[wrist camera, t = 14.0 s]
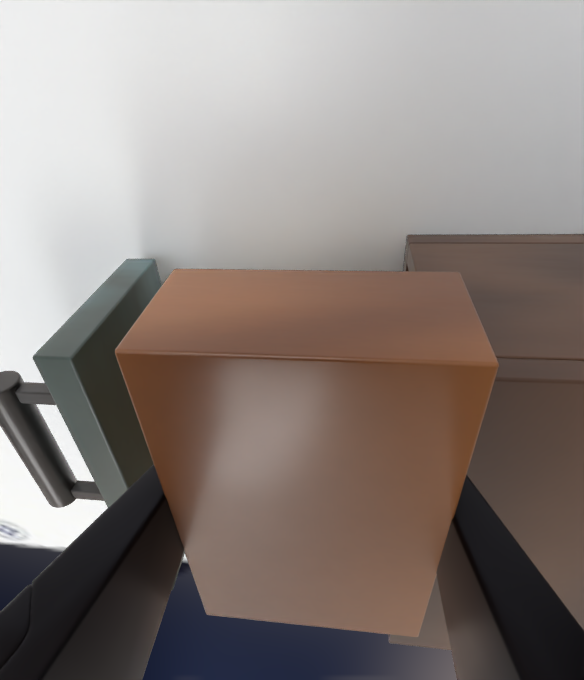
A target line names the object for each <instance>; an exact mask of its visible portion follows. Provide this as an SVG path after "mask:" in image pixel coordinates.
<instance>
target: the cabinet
mask: <svg viewBox="0 0 584 680" xmlns="http://www.w3.org/2000/svg"><path fill="white" fill-rule="evenodd" d="M403 271H408V272H459V273H460V274H461V276H462V279H463V281H464V283H465V286H466V288H467V290H468V293H469V295H470V297H471V300H472V302H473V304H474V307H475V309H476V311H477V314H478V316H479V319H480V321H481V323H482V326H483V328H484V330H485V333H486V335H487V337H488V340H489V342H490V344H491V347H492V349H493V351H494V354H495V356H496V358H497V361H498V363H499V367H498V371H497V374H496V377H495V381H494V384H493V387H492V391H491V394H490V398H489V401H488V404H487V408H486V411H485V414H484V418H483V421H482V424H481V428H480V431H479V435H478V438H477V441H476V445H475V448H474V451H473V455H472V458H471V461H470V465H469V468H468V471H467V476H468V477H469V478H470V480H471V481H472V482H473V484H474V485H475V486H476V488H477V489H478V490H479V492H480V493H481V494H482V496H483V497H484V498H485V500H486V501H487V502H488V504H489V505H490V506H491V508H492V509H493V510H494V512H495V513H496V514H497V516H498V517H499V518H500V519H501V521H502V522H503V523H504V525H505V526H506V527H507V529H508V530H509V531H510V533H511V534H512V535H513V537H514V538H515V539H516V541H517V542H518V543H519V545H520V546H521V547H522V549H523V550H524V551H525V553H526V554H527V555H528V557H529V558H530V559H531V561H532V562H533V563H534V565H535V566H536V567H537V569H538V570H539V571H540V573H541V574H542V575H543V577H544V578H545V579H546V581H547V582H548V583H549V585H550V586H551V587H552V589H553V590H554V591H555V593H556V594H557V595H558V597H559V598H560V599H561V601H562V602H563V603H564V605H565V606H566V607H567V609H568V610H569V611H570V613H571V614H572V615H573V617H574V618H575V619H576V621H577V622H578V623H579V625H580V626H581V627H582V629H583V630H584V234H566V235H407V239H406V248H405V257H404V267H403ZM388 635H389V642H390V643H393V644H402V645H410V646H419V647H428V648H437V649H446V650H451V647H450V641H449V636H448V631H447V626H446V621H445V616H444V611H443V606H442V601H441V596H440V591H439V586H438V580H437V576H436V579H435V582H434V586H433V589H432V592H431V596H430V599H429V603H428V606H427V609H426V613H425V616H424V619H423V623H422V626H421V629H420V633H419V636H418V637H410V636H400V635H391V634H388Z"/></svg>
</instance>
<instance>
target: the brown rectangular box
mask: <svg viewBox="0 0 584 680" xmlns="http://www.w3.org/2000/svg"><path fill="white" fill-rule="evenodd" d="M115 355H116V358H117V361H118V364H119V367H120V369H121V372H122V375H123V378H124V381H125V384H126V387H127V389H128V392H129V395H130V398H131V401H132V404H133V406H134V409H135V412H136V415H137V418H138V421H139V423H140V426H141V429H142V432H143V435H144V438H145V441H146V443H147V446H148V449H149V452H150V455H151V458H152V460H153V463H154V466H155V469H156V472H157V475H158V478H159V480H160V483H161V486H162V489H163V492H164V495H165V497H166V499H167V501H168V504H169V507H170V510H171V513H172V516H173V519H174V521H175V524H176V527H177V530H178V533H179V536H180V539H181V541H182V544H183V547H184V551H185V554H186V557H187V560H188V563H189V566H190V569H191V571H192V574H193V577H194V580H195V583H196V585H197V588H198V591H199V594H200V597H201V600H202V603H203V606H204V608H205V611H206V614H208V615H215V616H225V617H235V618H243V619H252V620H261V621H271V622H280V623H289V624H298V625H308V626H318V627H326V628H336V629H345V630H354V631H364V632H373V633H382V634H391V635H400V636H410V637H418V636H419V633H420V629H421V626H422V623H423V619H424V616H425V613H426V609H427V606H428V603H429V599H430V596H431V592H432V589H433V586H434V582H435V579H436V576H437V574H436V571H437V568H438V565H439V561H440V558H441V555H442V551H443V548H444V544H445V541H446V538H447V534H448V531H449V527H450V524H451V521H452V519H453V518H454V515H455V512H456V508H457V505H458V502H459V498H460V495H461V492H462V488H463V485H464V482H465V478H466V475H467V471H468V468H469V465H470V461H471V458H472V455H473V451H474V448H475V445H476V441H477V438H478V435H479V431H480V428H481V424H482V421H483V418H484V414H485V411H486V408H487V404H488V401H489V398H490V394H491V391H492V387H493V384H494V381H495V377H496V374H497V371H498V367H499V363H498V361H497V358H496V356H495V354H494V351H493V349H492V347H491V344H490V342H489V340H488V337H487V335H486V333H485V330H484V328H483V326H482V323H481V321H480V319H479V316H478V314H477V311H476V309H475V307H474V304H473V302H472V300H471V297H470V295H469V293H468V290H467V288H466V286H465V283H464V281H463V279H462V276H461V274H460V273H459V272H408V271H325V270H243V269H174V270H173V271H172V272H171V274H170V275H169V277H168V278H167V279H166V281H165V282H164V283H163V285H162V286H161V287H160V289H159V290H158V292H157V293H156V294H155V296H154V297H153V298H152V300H151V301H150V303H149V304H148V305H147V307H146V308H145V309H144V311H143V312H142V313H141V315H140V316H139V318H138V319H137V320H136V322H135V323H134V324H133V326H132V327H131V329H130V330H129V331H128V333H127V334H126V335H125V337H124V338H123V339H122V341H121V342H120V344H119V345H118V346H117V348H116V349H115Z"/></svg>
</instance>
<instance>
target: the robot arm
mask: <svg viewBox="0 0 584 680" xmlns="http://www.w3.org/2000/svg"><path fill="white" fill-rule="evenodd" d="M183 552H184V547H183V544H182V541H181V539H180V536H179V533H178V530H177V527H176V524H175V521H174V519H173V516H172V513H171V510H170V507H169V504H168V501H167V499H166V497H165V495H164V492H163V489H162V486H161V483H160V480H159V478H158V475H157V472H156V469H155V466H154V464H153V465H152V466H151V467H150V468H149V469H148V470H147V471H146V472H145V473H144V474H143V475H142V476H141V477H140V478H139V479H138V480H137V481H136V482H135V483H133V484H132V485H131V486H130V487H129V488H128V489H127V490H126V491H125V492H124V493H123V494H122V495H121V496H120V497H119V498H118V499H117V500H116V501H115V502H114V503H113V504H112V505H111V506H110V507H109V508H108V509H107V510H106V511H105V512H103V513H102V514H101V515H100V516H99V517H98V518H97V519H96V520H95V521H94V522H93V523H92V524H91V525H90V526H89V527H88V528H87V529H86V530H85V531H84V532H83V533H82V534H81V535H80V536H79V537H78V538H77V539H76V540H75V541H74V542H72V543H71V544H70V545H69V546H68V547H67V548H66V549H65V550H64V551H63V552H62V553H61V554H60V555H59V556H58V557H57V558H56V559H55V560H54V561H53V562H52V563H51V564H50V565H49V566H48V567H47V568H46V569H45V570H44V571H43V572H42V573H40V574H39V575H38V576H37V577H36V579H34V580H33V582H32V585H28V586H27V587H26V588H25V589H24V590H23V591H22V592H21V593H20V594H19V595H18V596H17V597H15V598H14V599H13V600H12V601H11V602H10V603H9V604H8V605H7V606H6V607H5V608H4V609H3V610H2V611H1V612H0V680H142V678H143V675H144V672H145V669H146V665H147V663H148V660H149V656H150V653H151V650H152V647H153V644H154V641H155V638H156V635H157V632H158V629H159V626H160V623H161V620H162V617H163V614H164V611H165V607H166V605H167V601H168V599H169V595H170V592H171V589H172V586H173V583H174V580H175V577H176V574H177V571H178V568H179V565H180V562H181V559H182V555H183ZM436 574H437V580H438V586H439V591H440V596H441V601H442V606H443V611H444V616H445V621H446V626H447V631H448V636H449V641H450V647H451V652H452V657H453V662H454V667H455V672H456V677H457V680H584V630H583V629H582V627H581V626H580V625H579V623H578V622H577V621H576V619H575V618H574V617H573V615H572V614H571V613H570V611H569V610H568V609H567V607H566V606H565V605H564V603H563V602H562V601H561V599H560V598H559V597H558V595H557V594H556V593H555V591H554V590H553V589H552V587H551V586H550V585H549V583H548V582H547V581H546V579H545V578H544V577H543V575H542V574H541V573H540V571H539V570H538V569H537V567H536V566H535V565H534V563H533V562H532V561H531V559H530V558H529V557H528V555H527V554H526V553H525V551H524V550H523V549H522V547H521V546H520V545H519V543H518V542H517V541H516V539H515V538H514V537H513V535H512V534H511V533H510V531H509V530H508V529H507V527H506V526H505V525H504V523H503V522H502V521H501V519H500V518H499V517H498V516H497V514H496V513H495V512H494V510H493V509H492V508H491V506H490V505H489V504H488V502H487V501H486V500H485V498H484V497H483V496H482V494H481V493H480V492H479V490H478V489H477V488H476V486H475V485H474V484H473V482H472V481H471V480H470V478H469V477H468V476H467V475H466V478H465V482H464V485H463V488H462V492H461V495H460V498H459V502H458V505H457V508H456V512H455V515H454V518H453V519H452V521H451V524H450V527H449V531H448V534H447V538H446V541H445V544H444V548H443V551H442V555H441V558H440V561H439V565H438V568H437V571H436Z"/></svg>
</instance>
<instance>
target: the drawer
mask: <svg viewBox="0 0 584 680" xmlns="http://www.w3.org/2000/svg"><path fill="white" fill-rule="evenodd" d="M161 286H162V285H161V281H160V277H159V273H158V269H157V265H156V261H155V259H126V260H125V261H124V262H123V264H122V265H121V266H120V267H119V268H118V269H117V270H116V271H115V272H114V273H113V274H112V275H111V276H110V277H109V278H108V279H107V280H106V281H105V282H104V283H103V284H102V285H101V286H100V287H99V288H98V289H97V290H96V291H95V292H94V294H93V295H92V296H91V297H90V298H89V299H88V300H87V301H86V302H85V303H84V304H83V305H82V306H81V307H80V308H79V309H78V310H77V311H76V312H75V313H74V314H73V315H72V316H71V317H70V318H69V319H68V320H67V321H66V322H65V324H64V325H63V326H62V327H61V328H60V329H59V330H58V331H57V332H56V333H55V334H54V335H53V336H52V337H51V338H50V339H49V340H48V341H47V342H46V343H45V344H44V345H43V346H42V347H41V348H40V349H39V350H38V351H37V352H36V354H35V355H34V356H33V360H34V362H35V364H36V366H37V368H38V370H39V372H40V373H41V375H42V377H43V379H44V381H45V383H29V382H25V383H24V381H23V379H22V378H21V376H20V374H19V373H17V372H15V371H4V372H0V426H1V428H2V429H3V431H4V432H5V434H6V436H7V437H8V439H9V440H10V442H11V443H12V445H13V447H14V448H15V450H16V451H17V453H18V455H19V456H20V458H21V459H22V461H23V462H24V464H25V466H26V467H27V469H28V470H29V472H30V474H31V475H32V477H33V478H34V480H35V482H36V483H37V485H38V486H39V488H40V489H41V491H42V493H43V494H44V496H45V497H46V499H47V501H48V502H49V504H50V505H51V506H53V507H58V508H59V507H64V506H67V505H69V504H71V503H72V502H73V501H74V500H75V499H76V498H77V499H89V500H102V501H105V503H106V505H107V507H108V508H109V507H110V506H111V505H112V504H113V503H114V502H115V501H116V500H117V499H118V498H119V497H120V496H121V495H122V494H123V493H124V492H125V491H126V490H127V489H128V488H129V487H130V486H131V485H132V484H133V483H135V482H136V481H137V480H138V479H139V478H140V477H141V476H142V475H143V474H144V473H145V472H146V471H147V470H148V469H149V468H150V467H151V466H152V465H153V464H154V463H153V460H152V458H151V455H150V452H149V449H148V446H147V443H146V441H145V438H144V435H143V432H142V429H141V426H140V423H139V421H138V418H137V415H136V412H135V409H134V406H133V404H132V401H131V398H130V395H129V392H128V389H127V387H126V384H125V381H124V378H123V375H122V372H121V369H120V367H119V364H118V361H117V358H116V355H115V349H116V348H117V346H118V345H119V344H120V342H121V341H122V339H123V338H124V337H125V335H126V334H127V333H128V331H129V330H130V329H131V327H132V326H133V324H134V323H135V322H136V320H137V319H138V318H139V316H140V315H141V313H142V312H143V311H144V309H145V308H146V307H147V305H148V304H149V303H150V301H151V300H152V298H153V297H154V296H155V294H156V293H157V292H158V290H159V289H160V287H161ZM36 404H48V405H57V407H58V409H59V411H60V413H61V415H62V417H63V419H64V421H65V423H66V425H67V427H68V429H69V431H70V433H71V435H72V437H73V439H74V441H75V443H76V445H77V447H78V449H79V451H80V453H81V455H82V457H83V459H84V461H85V463H86V465H87V467H88V469H89V471H90V473H91V475H92V477H93V479H94V481H95V482H90V481H77V479H76V478H75V476H74V474H73V472H72V470H71V468H70V466H69V465H68V463H67V461H66V459H65V457H64V455H63V454H62V452H61V450H60V448H59V446H58V444H57V442H56V441H55V439H54V437H53V435H52V433H51V431H50V429H49V428H48V426H47V424H46V422H45V420H44V418H43V416H42V415H41V413H40V411H39V409H38V407H37V405H36ZM184 554H185V551H184V552H183V555H182V559H181V562H180V565H179V568H178V571H177V574H176V577H175V580H174V583H173V586H172V589H171V590H173V588H174V585H175V582H176V579H177V576H178V572H179V569H180V566H181V563H182V560H183V557H184Z"/></svg>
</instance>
